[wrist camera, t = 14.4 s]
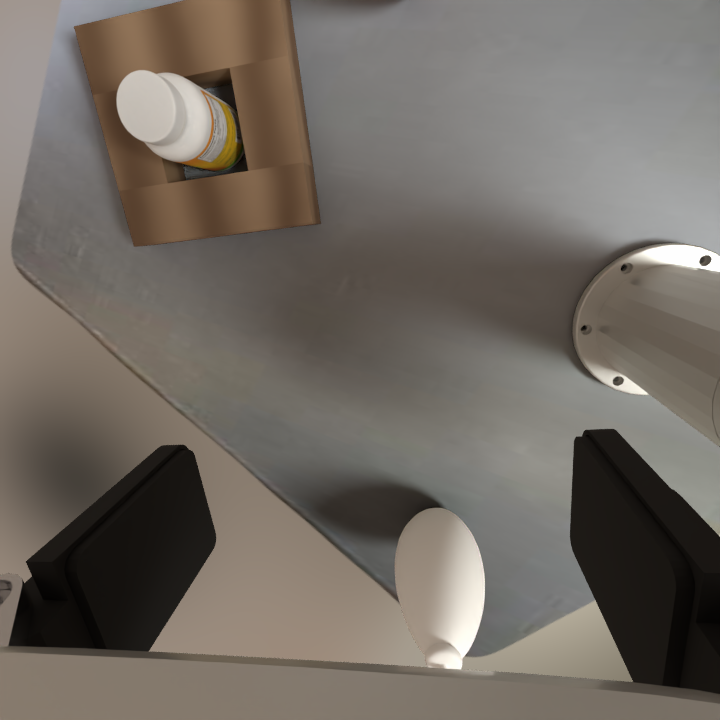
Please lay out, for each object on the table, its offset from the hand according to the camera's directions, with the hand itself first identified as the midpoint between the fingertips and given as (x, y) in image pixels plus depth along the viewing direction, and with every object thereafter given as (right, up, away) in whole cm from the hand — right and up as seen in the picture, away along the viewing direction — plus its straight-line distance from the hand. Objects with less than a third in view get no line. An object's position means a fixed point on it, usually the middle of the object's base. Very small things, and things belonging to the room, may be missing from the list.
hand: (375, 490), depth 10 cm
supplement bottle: (-12, +22, +25) cm, 35 cm away
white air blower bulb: (+8, -14, +34) cm, 37 cm away
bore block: (-13, +22, +25) cm, 35 cm away
